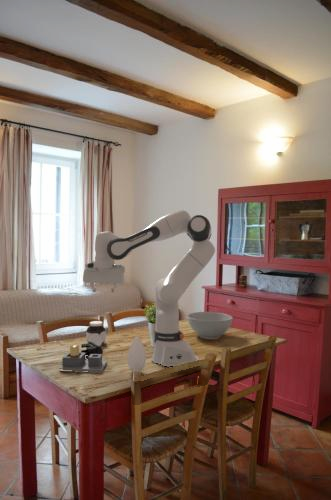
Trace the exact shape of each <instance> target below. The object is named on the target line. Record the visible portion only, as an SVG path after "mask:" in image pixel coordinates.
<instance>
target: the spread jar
mask: <svg viewBox="0 0 331 500" xmlns="http://www.w3.org/2000/svg"><path fill="white" fill-rule="evenodd" d="M85 332H86V334H85V336H86V337H85V339H86V343H89V342H93V343H95V344H96V345H98V346H100V347H101V346H102V345H103V344H102V343H105V342H106V338H107V337H106V335H107V332H106V328H105V327H104V326H103V321H101V320H94V321H90V322H89V326H88V327H87V329H86V331H85Z"/></svg>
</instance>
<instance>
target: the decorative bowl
mask: <svg viewBox="0 0 331 500" xmlns="http://www.w3.org/2000/svg"><path fill="white" fill-rule="evenodd" d="M186 318H187V321H188V324H189V327H191V329H192V331H193V332H194V333H196V335H198V337H199V338H201V339H205V340H217V339H219V338H221V336H223V334H225V333H226V332H227V331H228V330H229V329H230V327H231V325H232V323H233V320H234V317H233V316H232V315H230V314H228V313H227V314H226V313H223V312H215V311H214V312H213V311H198V312H192V313H188V314H187V317H186Z"/></svg>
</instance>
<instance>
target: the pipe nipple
mask: <svg viewBox="0 0 331 500" xmlns="http://www.w3.org/2000/svg"><path fill="white" fill-rule="evenodd" d="M69 352H70V357H79V352H80V345H79V344H72V345H69Z"/></svg>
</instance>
